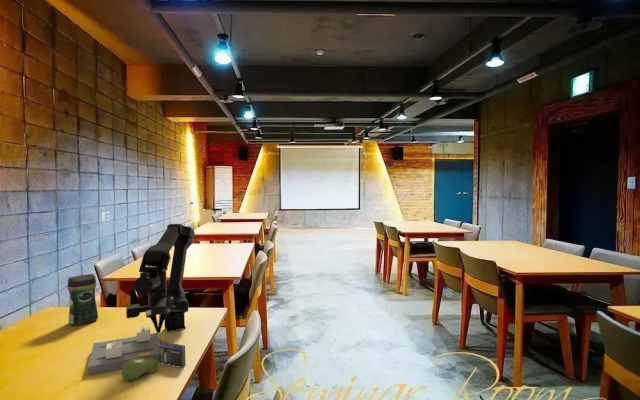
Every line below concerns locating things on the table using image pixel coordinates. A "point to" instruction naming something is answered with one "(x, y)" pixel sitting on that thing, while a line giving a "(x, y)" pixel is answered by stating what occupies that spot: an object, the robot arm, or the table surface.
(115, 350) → the tab
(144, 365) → the pear
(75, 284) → the coffee jar
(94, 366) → the switch panel
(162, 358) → the mini dv tape
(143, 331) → the tab
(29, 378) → the table surface
